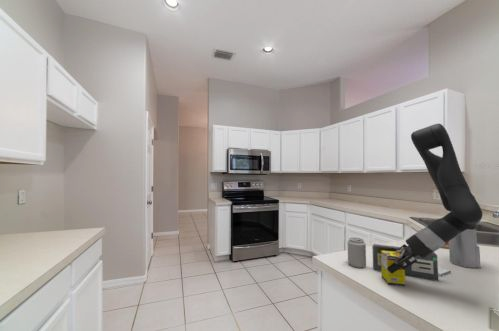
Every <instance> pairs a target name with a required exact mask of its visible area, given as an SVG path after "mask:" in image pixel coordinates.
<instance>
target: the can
mask: <svg viewBox="0 0 499 331" xmlns="http://www.w3.org/2000/svg"><path fill="white" fill-rule="evenodd" d="M366 244H367V243H366V242H365V240H364V239H363V238H360V237H351V236H350V237H349V238H348V240H347V262H348V264H349V265H350V266H352V267H354V268H358V269H362V268H364V267H366V266H367V251H366V250H367V247H366Z"/></svg>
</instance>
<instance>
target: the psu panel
mask: <svg viewBox="0 0 499 331" xmlns="http://www.w3.org/2000/svg"><path fill="white" fill-rule="evenodd" d="M400 247H401V246H393V245H385V244H376V243H373V244H372V248H371V249H372V269H373V271H377V272H382V270H381V251H395V250H397V249H398V248H400ZM415 259H416V260H417V262H415V263H414V264H412V265H410V266H409V267H407V268H406V269H405V277H406V276H408V277H412V276H413V277H412V278H418V277H419V278H418V279H425V280H430V281H431V280H432V281H436V280H437V282H439V276H438V267H439V264H438V263H439V260H438V254H437V253H436V252H433V253H432V254H430V255H428V256H427V257H425V258H422V257H420V256H419V255H417V256H416V257H415Z"/></svg>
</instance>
